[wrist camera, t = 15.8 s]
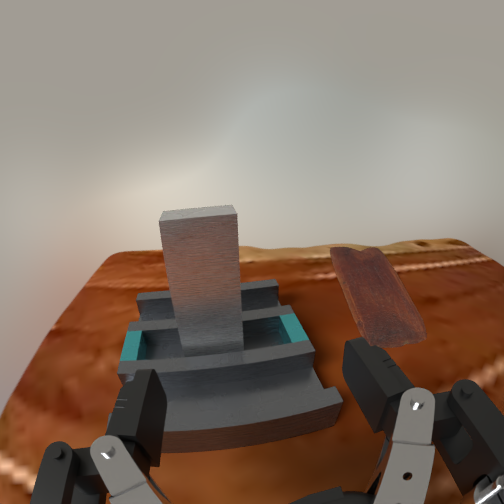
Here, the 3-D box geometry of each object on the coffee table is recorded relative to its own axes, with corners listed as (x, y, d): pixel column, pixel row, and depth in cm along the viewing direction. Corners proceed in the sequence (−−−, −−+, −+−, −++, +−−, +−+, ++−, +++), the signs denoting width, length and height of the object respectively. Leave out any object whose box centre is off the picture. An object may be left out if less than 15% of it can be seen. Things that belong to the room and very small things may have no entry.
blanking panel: (240, 343, 25) (232, 204, 20) (244, 361, 22) (237, 213, 17) (187, 349, 24) (163, 211, 19) (187, 368, 22) (158, 221, 16)
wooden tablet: (327, 251, 49) (328, 243, 49) (377, 253, 48) (378, 244, 47) (354, 354, 25) (357, 342, 25) (435, 347, 24) (440, 336, 23)
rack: (274, 303, 33) (275, 279, 32) (333, 425, 17) (343, 401, 16) (144, 317, 31) (138, 293, 29) (125, 451, 14) (106, 429, 13)
